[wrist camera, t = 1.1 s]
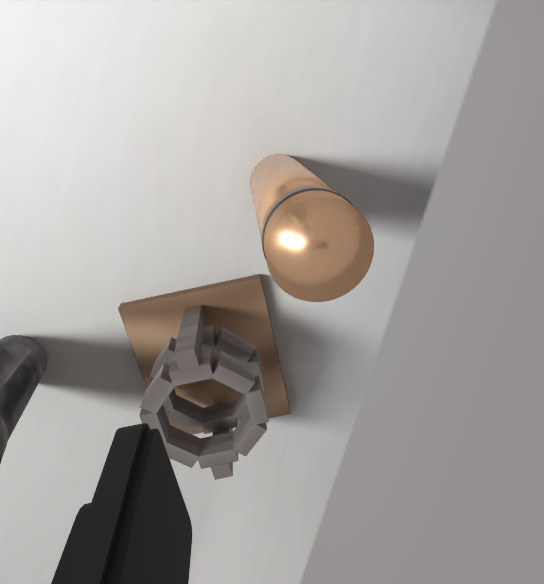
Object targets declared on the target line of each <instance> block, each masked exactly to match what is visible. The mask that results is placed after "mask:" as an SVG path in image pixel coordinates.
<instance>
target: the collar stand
mask: <svg viewBox="0 0 544 584" xmlns="http://www.w3.org/2000/svg"><path fill="white" fill-rule="evenodd" d="M118 310H119V313H120V315H121V318H122V321H123V324H124V326H125V329H126V332H127V334H128V337H129V340H130V343H131V345H132V348H133V351H134V354H135V356H136V359H137V362H138V364H139V367H140V370H141V373H142V375H143V378H144V381H145V384H146V386H147V390H146V391H145V394H144V398H143V401H142V404H141V407H140V408H142V409H141V412H140V419H141V421H142V424H143V423H147V424H148V425H149V427H150V429H155V428H157V429H158V430H159V431H160V434H161V437H162V439H163V442H164V445H165V448H166V451H167V454H168V457H169V458H170V459H173V460H175V461H177V462H179V463H182V464H184V465H186V466H189V467H191V468H192V467H193V466H194V464H195V463H196V461H197V460H198V461H199V464H200V467H201V469H203V468H207V467H211V469H212V472H213V475H214V478H215V480H216V479H221V478H226V477H230V476H233V462H235V461H238V453H240V454H242V455H244V456H247V454H248V453H249V452H250V450H251V449H252V448H253V447H254V445H255V444H256V443H257V442H258V440H259V439H260V438H261V437H262V435H263V434H264V433H265V431H266V430H267V427H266V422H269V420H268V418H272V417H277V416H282V415H286V414H290V409H289V404H288V400H287V395H286V391H285V386H284V382H283V377H282V373H281V368H280V364H279V359H278V354H277V350H276V345H275V341H274V336H273V332H272V327H271V323H270V318H269V314H268V309H267V305H266V300H265V296H264V291H263V287H262V282H261V278H260V274H258V275H253V276H249V277H244V278H239V279H235V280H230V281H225V282H220V283H216V284H211V285H206V286H202V287H197V288H192V289H188V290H183V291H178V292H173V293H169V294H164V295H159V296H155V297H150V298H145V299H141V300H136V301H131V302H127V303H122V304H120V306H119V308H118ZM234 427H236V429H235V430H234V431H233V428H234ZM202 432H204V434H206V433H211V432H213V436H211V437H206V438H201V439H200V438H198V437H196V436H193V435H192V434H197V433H202Z"/></svg>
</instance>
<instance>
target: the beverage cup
mask: <svg viewBox="0 0 544 584" xmlns="http://www.w3.org/2000/svg"><path fill="white" fill-rule="evenodd" d="M46 364H47V360H46V355H45V352H44V350H43V349H42V348H41V347H40V345H39V344H38V343H36V342H35V341H33V340H32V339H30V338H27V337H24V336H16V335H12V336H7V337H4V338H2V339H1V340H0V463H1V459H2V457H3V454H4V451H5V448H6V445H7V441H8V439H9V437H10V436H11V434H12V432H13V430H14V428H15V426H16V424H17V422H18V421H19V419H20V417H21V415H22V413H23V411H24V409H25V407H26V406H27V404H28V402H29V400H30V398H31V396H32V394H33V392H34V391H35V389H36V387H37V385H38V383H39V381H40V379H41V376H42V373H43V371H44V370H45V367H46Z"/></svg>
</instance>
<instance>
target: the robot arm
mask: <svg viewBox="0 0 544 584" xmlns="http://www.w3.org/2000/svg"><path fill="white" fill-rule="evenodd" d="M191 545H192V526H191V521H190V517H189V514H188V511H187V509H186V506H185V503H184V500H183V497H182V494H181V491H180V488H179V485H178V483H177V480H176V477H175V474H174V471H173V468H172V465H171V462H170V460H169V457H168V454H167V451H166V448H165V445H164V442H163V439H162V437H161V434H160V431H159V430H158V429H157V428H155V429H150V427H149V425H148V424H147V423H143V424H138V425H133V426H128V427H123V428H119V429H118V430H117V431H116V433H115V436H114V439H113V442H112V445H111V447H110V450H109V453H108V456H107V459H106V462H105V465H104V468H103V471H102V473H101V476H100V479H99V482H98V485H97V488H96V491H95V494H94V497H93V499H92V502H91V503H88V504H84V505H83V506H82V507H81V508H80V510H79V512H78V514H77V516H76V518H75V521H74V524H73V526H72V529H71V532H70V535H69V537H68V540H67V543H66V545H65V548H64V551H63V553H62V556H61V559H60V561H59V564H58V567H57V570H56V572H55V575H54V578H53V580H52V583H51V584H188V580H189V568H190V556H191Z"/></svg>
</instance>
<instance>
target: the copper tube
mask: <svg viewBox="0 0 544 584" xmlns="http://www.w3.org/2000/svg"><path fill="white" fill-rule="evenodd" d="M250 187H251V193H252V197H253V202H254V206H255V211H256V215H257V220H258V224H259V229H260V233H261V239H262V247H263V252H264V256H265V259H266V261H267V265H268V268H269V271H270V273H271V276H272V277H273V279H274V280H275V282H276V283H277V284H278V285H279V287H280V288H282V289H283V290H284V291H285V292H286V293H288V294H289V295H291V296H293V297H295V298H298V299H301V300H304V301H310V302H323V301H329V300H333V299H336V298H338V297H341V296H343V295H344V294H346V293H348V292H349V291H351V290H352V289H353V288H354V287H356V286H357V285H358V284H359V283H360V281H361V280H362V279H363V278H364V276H365V275H366V273H367V271H368V269H369V267H370V265H371V262H372V258H373V253H374V239H373V234H372V231H371V228H370V226H369V224H368V222H367V220H366V219H365V217H364V216H363V215H362V214H361V212H360V211H359V210H357V209H356V208H355V207H354V206H353V205H352V204H351V203H350V202H349V201H348V200H347V199H346V198H344V197H343V196H342V195H341V194H339V193H337V192H336V191H334V190H333V189H331V188H330V187H329V186H328V185H326V184H325V183H324V182H323V181H321V180H320V179H319V178H318V177H317V176H315V175H314V174H313V173H312V172H310V171H309V170H308V169H307V168H305V167H304V166H303V165H302V164H300V163H299V162H298V161H297V160H296V159H294V158H292V157H290V156H287V155H282V154H277V155H272V156H269V157H266V158H265V159H263V160H262V161H261V162H260V163H259V164H258V165H257V166H256V167H255V169H254V171H253V173H252V176H251V181H250Z"/></svg>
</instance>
